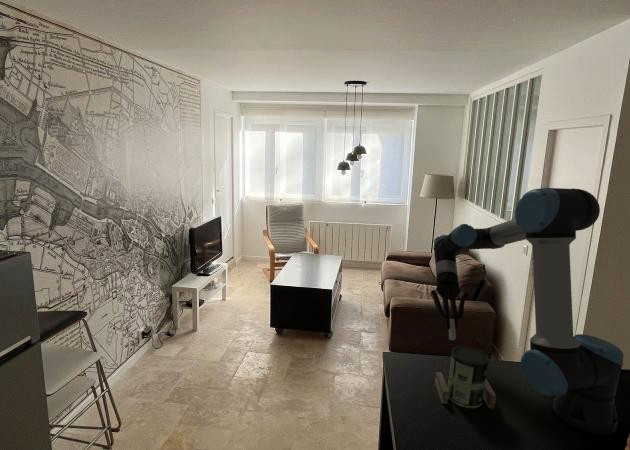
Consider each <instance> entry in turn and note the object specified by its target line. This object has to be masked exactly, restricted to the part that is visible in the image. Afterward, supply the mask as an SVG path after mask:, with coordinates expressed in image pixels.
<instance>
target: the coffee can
mask: <svg viewBox="0 0 630 450" xmlns="http://www.w3.org/2000/svg"><path fill="white" fill-rule="evenodd" d="M489 362H490V357H489V355H488V354H486V352H484V351H482V350H480V349H478V348H476V347H472V346H466V345H464V346H463V345H460V346H455V347H453V348H452V349H451V358H450V366H449V373H448V383H447V387H448V390H449V397H448V400H450V401H451V402H452V403H453V404H455V405H457V406H459V407H461V408H466V409H477V408H480V407H481V406H482V405H483V402H484V401H483V400H484V398H483V395H484V388H485V381H486V379H487V374H488V373H487V372H488V365H489Z"/></svg>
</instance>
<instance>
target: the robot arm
mask: <svg viewBox="0 0 630 450" xmlns="http://www.w3.org/2000/svg"><path fill="white" fill-rule="evenodd" d="M515 206H516V207H515V211H514V218H513V219H510V220H507V221H504V222H500V223H499V224H495V225H492V226H489V227H485V228H474V227H473V226H472V225H469V224H467V223H461V224H459V225H458V226H457V227H455V228H453V230H451V232H449V234H441V235H440V236H436V237H435V238H434V241H433V253H434V264H435V274H436V279H435V280H436V288H435V289H432V290H430V293H429V296H430V297H431V299H432V300H433V303H434V306H435V310H436V312H437V315H438V318H439V319H440V320H443V321H444V326H445V329H446V330H447V331H448V339H449V341H456V338H457V333H456V331H457V330H458V328H459V325H458V321H461V320H462V318H463V317H464V309H465V303H466V298H467V297H468V295H469V293H467V292H463V291H462V290H461V287H460V286H459V285H460V283H459V282H460V281H459V276H458V267H457V256H458V255H459V254H461V253H462V252H463V251H465V250H466V251H467V250H490V249H491V250H495V249H496V250H497V249H501V248H505V245H509V244H513V243H517V242H521V241H524V240H525V241H528V242H529V243H530V245H531V246H532V267H533V268H532V270H533V294H534V296H533V297H534V317H535V319H534V320H535V334H533V335H532V336H531V337H530V339H529V348H530V349H527V350H526V351H525V352H524V353H523V354H522V356H521V359H520V369H521V371H522V374H523V376H524V378H525V380H526V381H527V383H529V386H530V387H532V388H533V389H534V390H535V391H536V392H538V393H539V394H541V395H543V396H547V397H549V396H550V397H551V396H552V397H553V396H555V397H554V399H553V404H552V408H553V411H554V413H555V414H556V415H557V416H558V417H559V418H560V419H561V420H562V421H563V422H565V423H566V424H568V425H570V426H571V427H573V428H575V429H578V430H580V431H582V432H585V433H589V434H592V435H598V436H608V435H612V434H614V433H615V432H616V431H617V428H618V423H619V422H618V420H619V419H618V414H617V410H616V403H615V397H616V393H617V389H618V385H619V380H620V376H621V373H622V368H623V365H624V363H623V362H624V353H623V351H622V349H621V348H619V347H618V346H617V345H615V344H614V343H612V342H609V341H607V340H606V339H602V338H599V337H596V336H592V335H590V334H583V333H580V334H578V333H577V334H574V322H573V296H572V295H573V294H572V276H571V272H572V271H571V251H570V245H571V244H572V242H573V241H575V240H576V239H577V232H578V231H583V230H586V229H588V228H590V227H591V226H593V225H594V224H595V223H596V222H597V220H598V219H599V216H600V214H601V213H600V212H601V207H600V203H599V201H598V200H597V198H596V196H595V195H593V194H592V193H591V192H589V191H587V190H585V189H581V188H563V187H562V188H561V187H560V188H559V187H542V188H541V187H540V188H534V189H531V190H529V191H527V192H525V193H524V194H523V195H522V197H521V198H519V200H518V201H517V204H516V205H515ZM438 295H439V296H440V298H441V300H442V304H441V302H440V301H441V300H440V298H439V296H438ZM458 296H459V299H460V300H459V304H458V310H457V301H456V300H457V298H458ZM449 303H450V306H449ZM449 307H450V309H449ZM450 314H451V317H450Z"/></svg>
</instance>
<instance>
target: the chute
mask: <svg viewBox="0 0 630 450" xmlns="http://www.w3.org/2000/svg"><path fill="white" fill-rule="evenodd" d="M434 385H435V388H436V391H437V393H438V396H439V399H440V401H441V404H442V405H443V404H444V405H448V404H449V398H448V397H449V390H448V384H447V382H446V380H445V378H444V375H443V373H442V372H440V371H436V372H435V379H434ZM496 399H497V395H496V393H495V392H494V390H493V388H492V386H491V385H490V383H489V381H488V379H487V378H486V381H485V388H484V395H483V400H484V402H485V404H486V405H487V408H489V409H495V408H496Z"/></svg>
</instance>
